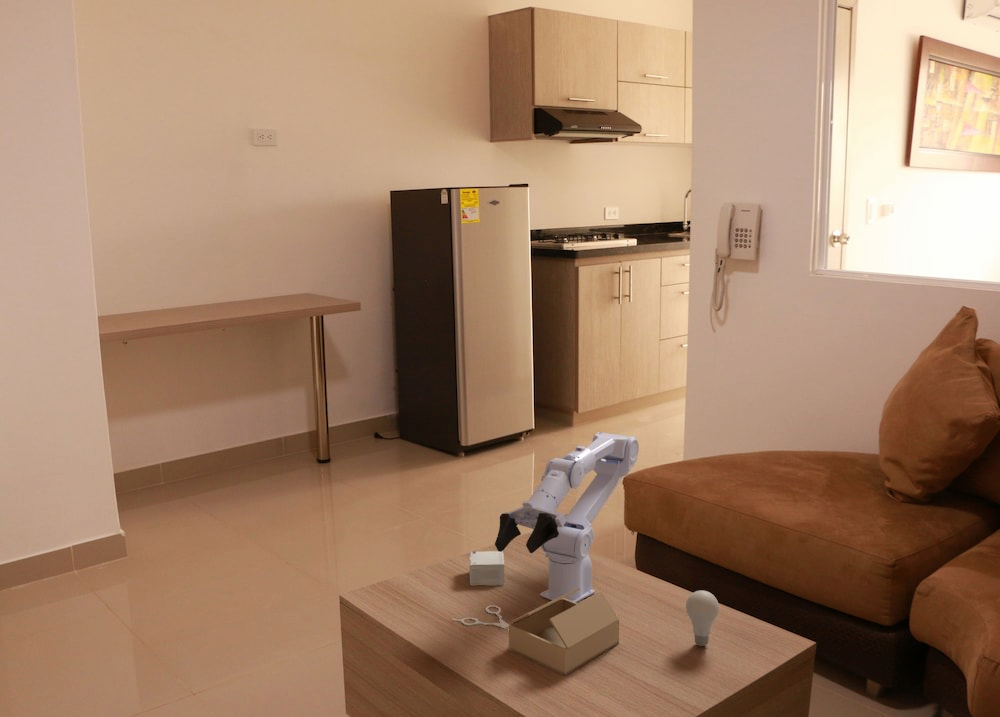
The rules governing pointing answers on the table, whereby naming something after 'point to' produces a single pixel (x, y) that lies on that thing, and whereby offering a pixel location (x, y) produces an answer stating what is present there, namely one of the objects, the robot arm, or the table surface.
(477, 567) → the small box
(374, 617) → the table surface
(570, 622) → the flap
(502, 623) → the scissors
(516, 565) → the table surface
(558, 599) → the flap
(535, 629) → the carton
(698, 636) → the lightbulb
